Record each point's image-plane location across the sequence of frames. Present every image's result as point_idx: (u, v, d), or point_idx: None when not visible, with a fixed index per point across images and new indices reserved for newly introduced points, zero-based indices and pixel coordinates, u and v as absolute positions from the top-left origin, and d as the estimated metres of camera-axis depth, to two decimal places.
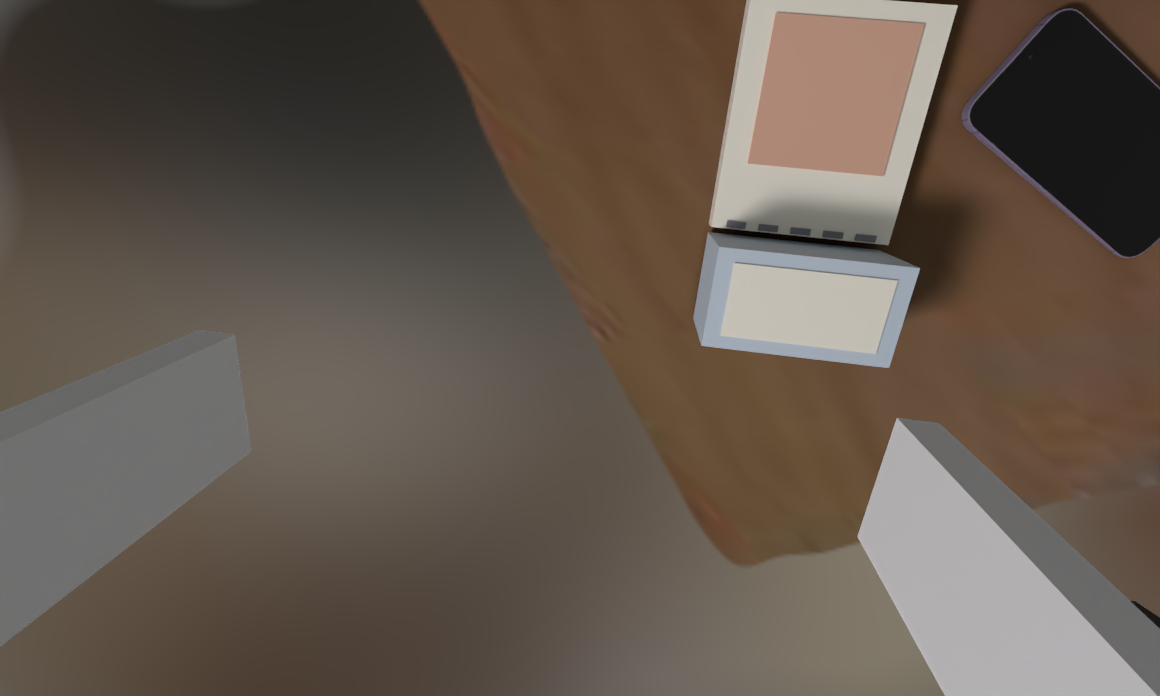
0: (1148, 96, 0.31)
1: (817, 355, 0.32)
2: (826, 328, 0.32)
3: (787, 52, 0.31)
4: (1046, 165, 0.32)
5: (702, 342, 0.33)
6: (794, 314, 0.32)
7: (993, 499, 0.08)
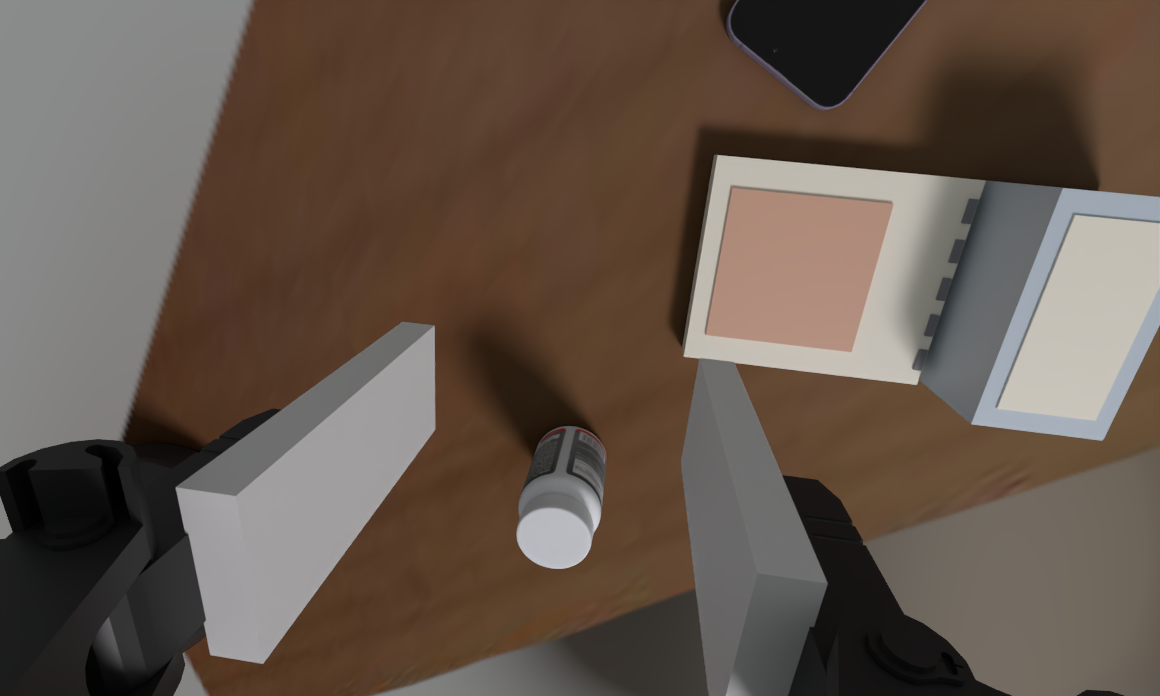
0: None
1: None
2: (1123, 294, 0.24)
3: (743, 321, 0.30)
4: None
5: (1097, 438, 0.26)
6: (1089, 338, 0.24)
7: (729, 408, 0.10)
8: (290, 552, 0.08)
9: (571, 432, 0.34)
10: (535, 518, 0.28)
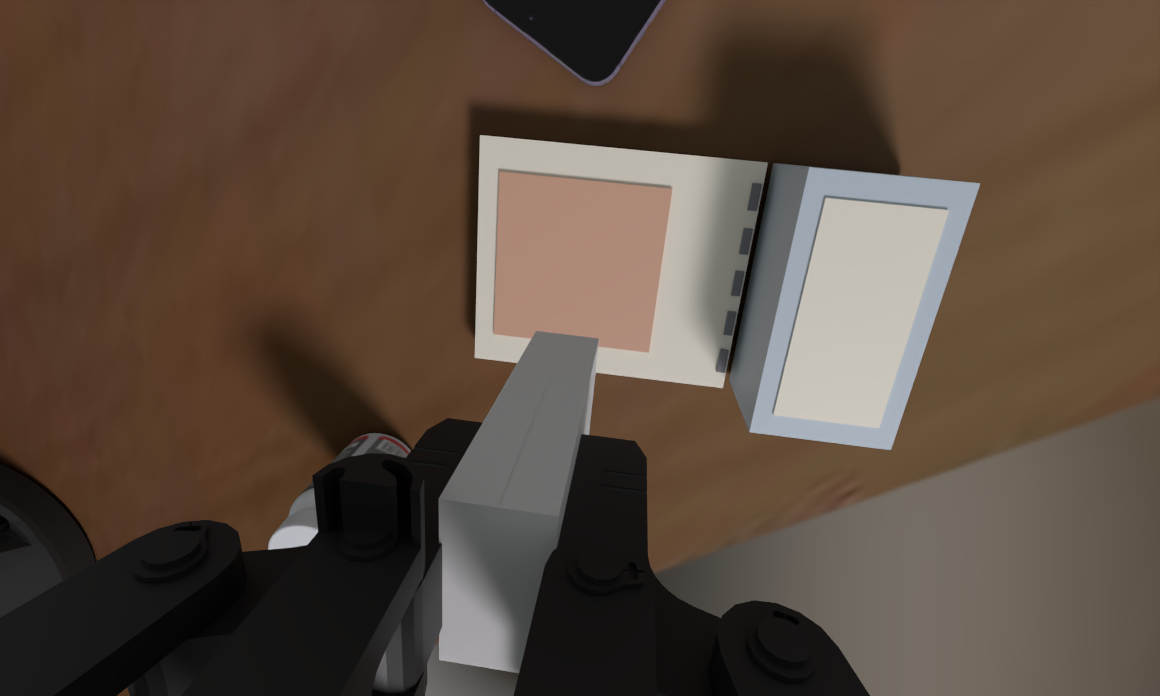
0: None
1: (935, 296, 0.21)
2: (890, 287, 0.21)
3: (531, 319, 0.28)
4: None
5: (885, 447, 0.23)
6: (860, 336, 0.22)
7: (566, 377, 0.10)
8: None
9: (372, 440, 0.32)
10: (284, 537, 0.25)
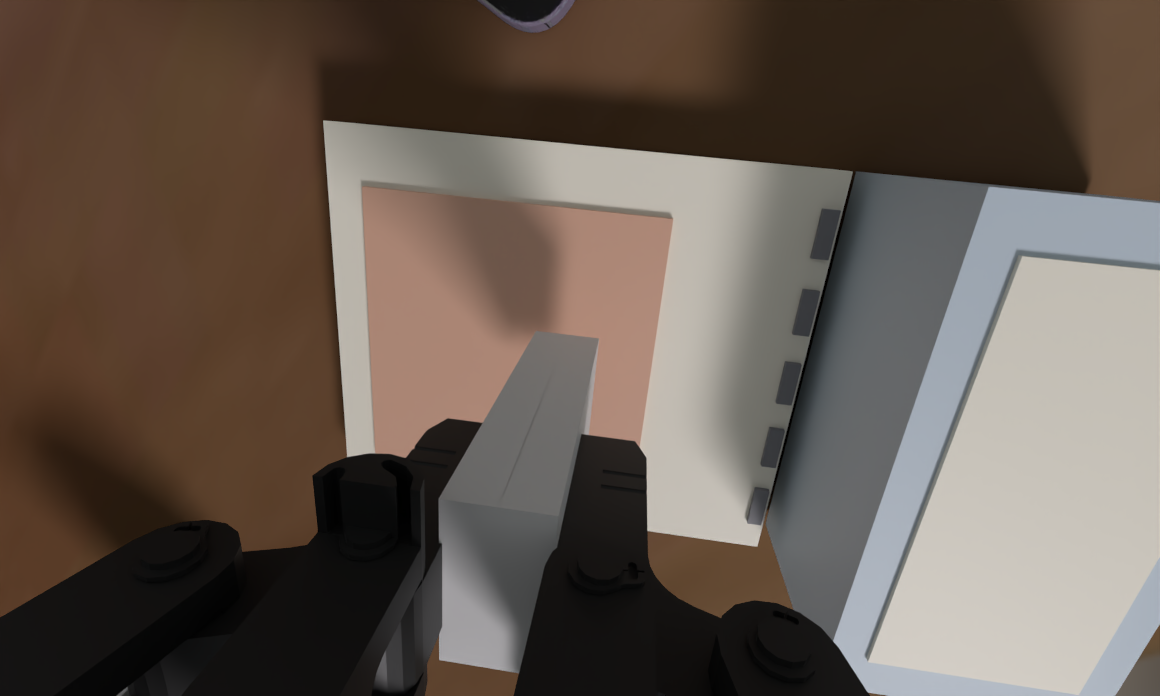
0: None
1: None
2: (1143, 445, 0.10)
3: None
4: None
5: None
6: (1062, 535, 0.10)
7: (565, 377, 0.10)
8: None
9: None
10: None
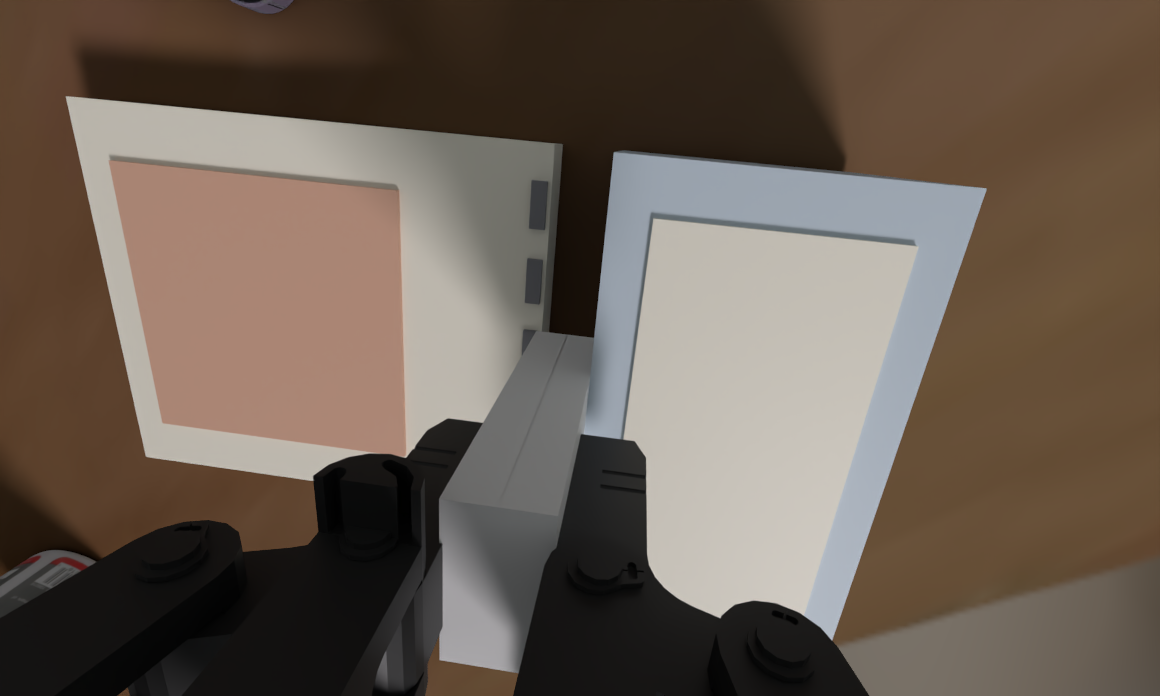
0: None
1: (893, 418, 0.10)
2: (801, 400, 0.10)
3: (214, 401, 0.17)
4: None
5: None
6: (745, 490, 0.11)
7: (565, 376, 0.10)
8: None
9: (38, 566, 0.21)
10: None
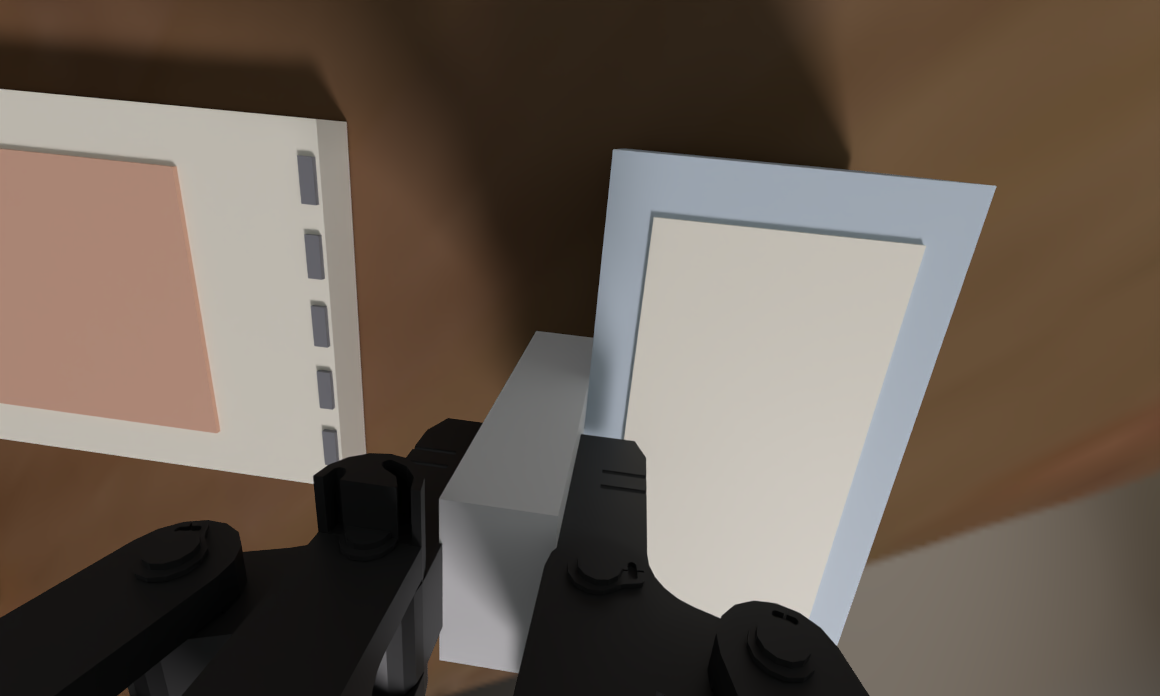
0: None
1: (899, 421, 0.10)
2: (805, 403, 0.10)
3: (30, 378, 0.17)
4: None
5: None
6: (749, 494, 0.11)
7: (565, 377, 0.10)
8: None
9: None
10: None
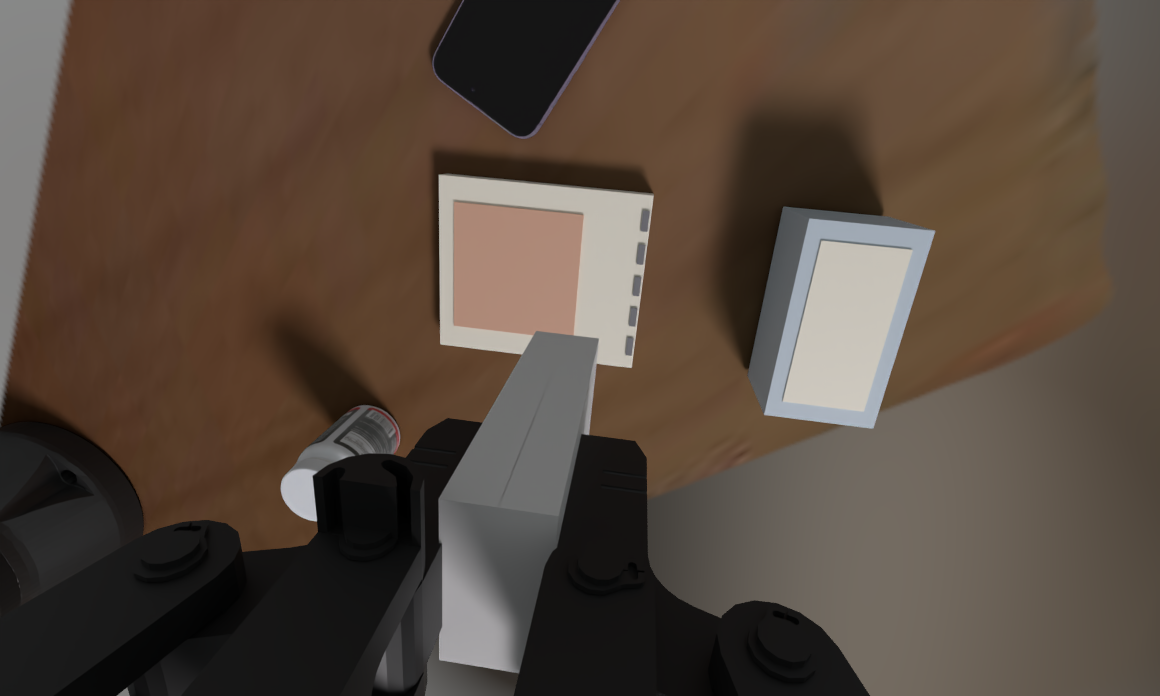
0: None
1: (904, 312, 0.28)
2: (870, 306, 0.28)
3: (482, 313, 0.36)
4: (571, 39, 0.30)
5: (869, 427, 0.31)
6: (848, 342, 0.29)
7: (565, 377, 0.10)
8: None
9: (362, 410, 0.40)
10: (292, 478, 0.34)
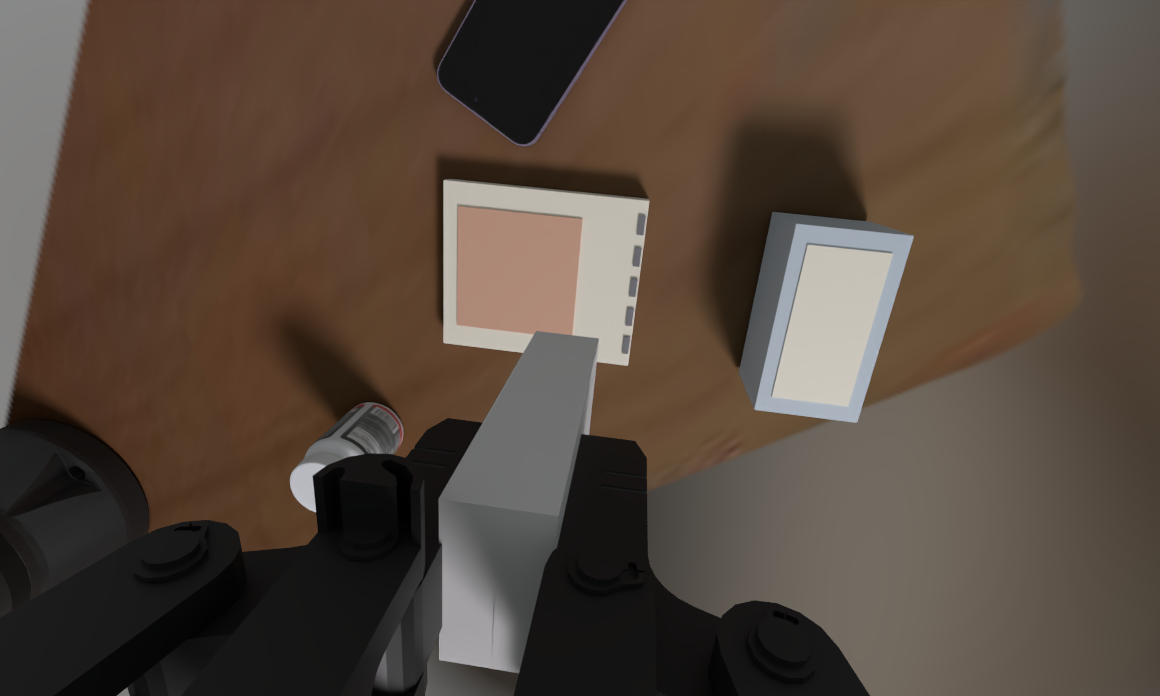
0: None
1: (885, 312, 0.30)
2: (854, 306, 0.30)
3: (484, 313, 0.37)
4: (570, 52, 0.32)
5: (853, 421, 0.32)
6: (833, 340, 0.31)
7: (566, 377, 0.10)
8: None
9: (367, 407, 0.41)
10: (301, 471, 0.35)
